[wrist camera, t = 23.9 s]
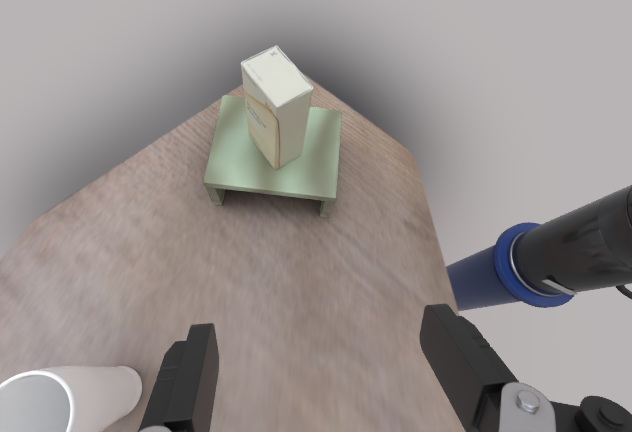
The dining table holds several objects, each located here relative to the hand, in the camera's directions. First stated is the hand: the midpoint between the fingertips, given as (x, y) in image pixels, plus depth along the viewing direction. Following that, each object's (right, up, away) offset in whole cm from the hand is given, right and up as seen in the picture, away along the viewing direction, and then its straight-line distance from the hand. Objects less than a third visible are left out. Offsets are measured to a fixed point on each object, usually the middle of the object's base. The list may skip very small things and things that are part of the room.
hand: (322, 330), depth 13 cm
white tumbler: (-22, -15, +25) cm, 37 cm away
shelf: (-6, +11, +36) cm, 38 cm away
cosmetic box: (-5, +13, +30) cm, 33 cm away
